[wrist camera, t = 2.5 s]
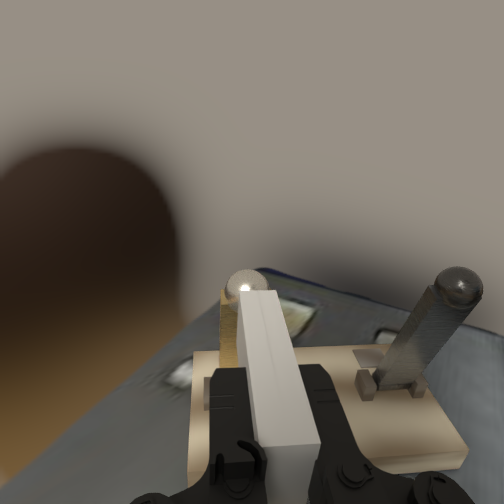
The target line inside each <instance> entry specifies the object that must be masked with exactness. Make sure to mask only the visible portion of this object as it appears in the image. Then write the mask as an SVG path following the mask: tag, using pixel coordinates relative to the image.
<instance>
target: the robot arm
mask: <svg viewBox="0 0 504 504" xmlns="http://www.w3.org/2000/svg"><path fill="white" fill-rule="evenodd" d="M236 345H237V355H238V366H239V367H237V368H216V369H215V371H214V373H213V375H212V377H211V379H210V382H209V462H208V466H207V468H206V471H205V472H204V474H203V475H202V477H201V478H200V479H199V480H198V481H197V482H196V483H195V484H194V485H193V486H191V487H189V488H187V489H186V490H184V491H181V492H179V493H177V494H175V495H172V496H170V497H167V496H165V495H163V494H160V493H147V494H145V495H142V496H140V497H138V498H136V499H135V500H133V501H132V502H131V503H130V504H306V503H307V499H308V495H309V500H310V504H475V503H474V502H473V501H472V499H471V498H470V497H469V496H468V495H467V493H466V492H465V491H464V490H463V489H462V488H461V487H460V486H459V485H458V484H457V483H456V482H455V481H454V480H453V479H451V478H449V477H447V476H446V475H444V474H442V473H439V472H435V471H425V472H421V473H420V474H419V475H418V476H416V478H415V480H413V479H410V478H406V477H402V476H398V475H395V474H391V473H388V472H385V471H383V470H381V469H379V468H377V467H376V466H374V465H373V464H372V462H370V461H369V460H368V459H367V458H366V457H365V456H364V455H363V454H362V453H361V451H360V449H359V447H358V445H357V443H356V440H355V438H354V435H353V433H352V430H351V427H350V425H349V422H348V420H347V417H346V415H345V412H344V409H343V407H342V404H341V403H340V399H339V397H338V394H337V392H336V390H335V386H334V384H333V381H332V379H331V376H330V375H329V373H328V372H327V371H326V370H325V369H324V368H323V367H322V366H321V365H320V364H297V360H296V357H295V353H294V350H293V347H292V343H291V340H290V336H289V333H288V330H287V326H286V323H285V319H284V316H283V313H282V309H281V306H280V302H279V299H278V296H277V292H276V290H247V291H239V302H238V321H237V339H236Z"/></svg>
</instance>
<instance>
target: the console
mask: <svg viewBox="0 0 504 504" xmlns="http://www.w3.org/2000/svg"><path fill="white" fill-rule="evenodd" d="M390 346H391V344H376V345H350V346H325V347H300V348H293V350H294V353H295V357H296V360H297V364H320V365H321V366H322V367H323V368H324V369H325V370H326V371H327V372H328V373H329V375H330V376H331V379H332V381H333V384H334V386H335V390H336V392H337V394H338V397H339V399H340V403H341V404H342V407H343V409H344V412H345V415H346V417H347V420H348V422H349V425H350V427H351V430H352V433H353V435H354V438H355V440H356V443H357V445H358V447H359V449H360V451H361V453H362V454H363V455H364V456H365V457H366V458H367V459H368V460H369V461H370V462H372V464H373V465H374V466H376V467H377V468H379V469H381V470H383V471H385V472H388V473H391V474H403V473H415V472H425V471H439V470H451V469H459V468H460V467H461V465H462V463H463V461H464V459H465V458H466V456H467V454H468V452H469V448H468V447H467V445H466V444H465V442H464V441H463V439H462V438H461V436H460V435H459V433H458V432H457V430H456V429H455V427H454V426H453V425H452V423H451V422H450V420H449V419H448V417H447V416H446V414H445V413H444V411H443V410H442V408H441V407H440V405H439V404H438V402H437V401H436V399H435V398H434V396H433V395H432V393H431V392H430V390H429V389H428V382H427V381H426V379H425V378H424V377H423V375H422V374H420V375H419V376H418V377H417V379H416V380H415V381H414V382H413V384H412V385H411V388H410V389H403V390H385V391H376V389H377V386H376V384H375V382H374V380H373V378H372V373H373V372H375V370H376V368H377V367H378V365H379V364H380V362H381V360H382V359H383V357H384V356H385V354H386V352H387V351H388V349H389V348H390ZM216 368H219V351H198V352H194V360H193V378H192V395H191V413H190V431H189V449H188V467H187V477H188V488H189V487H191V486H193V485H194V484H195V483H196V482H197V481H198V480H199V479H200V478H201V477H202V475H203V474H204V472H205V471H206V468H207V466H208V462H209V382H210V379H211V377H212V375H213V373H214V371H215V369H216Z"/></svg>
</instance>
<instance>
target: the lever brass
mask: <svg viewBox="0 0 504 504" xmlns="http://www.w3.org/2000/svg"><path fill="white" fill-rule="evenodd" d="M247 290H271V289H270V288H269V285H268V282H267V280H266V279H265V278H264V276H263V275H261V274H260V273H259V272H257V271H254V270H250V269H249V270H248V269H245V270H240V271H237V272H236V273H234V274H233V275H232V276H231V277H230V278H229V279H228V281H227V283H226V285H225V289H222V290H221V298H220V349H219V368H237V367H239V366H238V355H237V345H236V339H237V321H238V302H239V291H247Z"/></svg>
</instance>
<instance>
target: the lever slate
mask: <svg viewBox="0 0 504 504" xmlns="http://www.w3.org/2000/svg"><path fill="white" fill-rule="evenodd" d="M482 294H483V284H482V281H481V279H480V278H479V277H478V275H477V274H476V273H475V272H473V271H472V270H470V269H467V268H464V267H451V268H447V269H445V270H443V271H442V272H441V273H440V274H439V275H438V276H437V278H436V280H435V282H434V285H429V286H428V287H427V289H426V290H425V292H424V294H423V295H422V297H421V298H420V300H419V301H418V303H417V305H416V306H415V308H414V309H413V311H412V313H411V314H410V316H409V317H408V319H407V321H406V322H405V324H404V325H403V327H402V329H401V330H400V332H399V333H398V335H397V336H396V338H395V340H394V341H393V343H392V344H391V346H390V348H389V349H388V351H387V352H386V354H385V356H384V357H383V359H382V360H381V362H380V364H379V365H378V367H377V368H376V370H375V372H373V373H372V378H373V380H374V382H375V384H376V386H377V389H376V391H385V390H403V389H410V388H411V385H412V384H413V382H414V381H415V380H416V379H417V377H418V376H419V375H420V374H421V373H422V371H423V370H424V369H425V368H426V366H427V365H428V364H429V363H430V361H431V360H432V359H433V358H434V357H435V355H436V354H437V353H438V352H439V350H440V349H441V348H442V347H443V345H444V344H445V343H446V342H447V341H448V339H449V338H450V337H451V336H452V334H453V333H454V332H455V331H456V330H457V328H458V327H459V326H460V325H461V323H462V322H463V321H464V320H465V318H466V317H467V316H468V315H469V313H470V312H471V311H472V310H473V309H474V307H475V306H476V305H477V304H478V302H479V301H480V300H481V299H482V298H481V296H482Z"/></svg>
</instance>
